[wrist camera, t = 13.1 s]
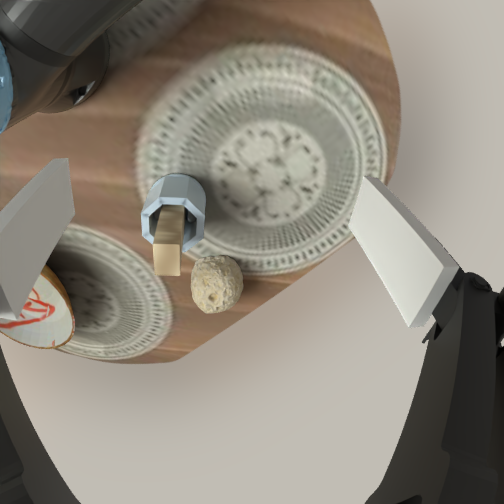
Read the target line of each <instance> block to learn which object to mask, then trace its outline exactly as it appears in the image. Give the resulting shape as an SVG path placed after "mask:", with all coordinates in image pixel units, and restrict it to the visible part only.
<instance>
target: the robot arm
mask: <svg viewBox="0 0 504 504" xmlns="http://www.w3.org/2000/svg"><path fill="white" fill-rule="evenodd" d="M141 1H142V0H0V134H1V133H2V132H3V131H5V130H7V129H8V128H10V127H12V126H13V125H15V124H17V123H18V122H20V121H22V120H24V119H25V118H27V117H29V116H31V115H32V114H34V113H36V112H41V113H58V112H62V111H66V110H68V109H70V108H72V107H74V106H76V105H78V104H80V103H81V102H83V101H84V100H86V99H87V98H88V97H89V96H90V95H91V94H92V93H93V92H94V91H95V90H96V88H97V87H98V86H99V84H100V82H101V81H102V79H103V77H104V75H105V72H106V69H107V66H108V61H109V42H108V37H107V34H106V32H105V30H107V29H108V28H109V27H110V26H111V25H112V24H114V23H115V22H116V21H117V20H118V19H120V18H121V17H122V16H123V15H124V14H126V13H127V12H128V11H129V10H131V9H132V8H133V7H135V6H136V5H137V4H138V3H140V2H141ZM74 215H75V210H74V203H73V196H72V189H71V181H70V172H69V162H68V158H60V159H53V160H51V161H50V162H49V163H48V164H47V165H46V166H45V167H44V168H43V169H42V170H41V171H40V172H39V173H38V174H36V175H35V176H34V177H33V178H32V179H31V180H30V181H29V182H28V183H27V184H26V185H25V186H24V187H23V188H22V189H21V190H20V191H19V192H18V193H17V195H16V196H15V197H14V198H13V199H12V200H11V201H10V202H9V203H8V204H7V205H6V206H5V207H4V208H3V210H2V211H1V212H0V318H4V319H11V320H18V317H19V315H20V313H21V311H22V309H23V307H24V304H25V302H26V300H27V298H28V296H29V294H30V292H31V290H32V288H33V286H34V284H35V282H36V280H37V278H38V277H39V275H40V273H41V271H42V269H43V267H44V265H45V264H46V262H47V260H48V258H49V256H50V255H51V253H52V251H53V249H54V248H55V246H56V244H57V242H58V241H59V239H60V237H61V236H62V234H63V232H64V231H65V229H66V227H67V226H68V224H69V223H70V221H71V219H72V218H73V216H74ZM348 227H349V228H350V230H351V231H352V233H353V235H354V236H355V238H356V239H357V241H358V242H359V244H360V246H361V247H362V249H363V250H364V252H365V254H366V255H367V257H368V258H369V260H370V262H371V263H372V265H373V267H374V268H375V270H376V272H377V273H378V275H379V277H380V278H381V280H382V282H383V283H384V285H385V287H386V289H387V290H388V292H389V294H390V295H391V297H392V299H393V301H394V303H395V304H396V306H397V308H398V309H399V311H400V313H401V315H402V317H403V319H404V321H405V322H406V324H407V326H408V327H409V328H411V327H420V326H424V325H425V324H426V322H427V321H428V319H429V318H430V316H431V314H432V315H433V316H434V318H435V319H436V322H435V323H434V325H433V326H432V328H431V329H430V331H429V332H428V334H427V335H426V336H425V338H424V339H423V341H422V343H425V342H426V340H429V341H428V346H427V350H426V354H425V359H424V363H423V366H422V370H421V374H420V377H419V381H418V384H417V388H416V391H415V395H414V398H413V401H412V404H411V407H410V410H409V414H408V416H407V419H406V422H405V425H404V428H403V431H402V434H401V436H400V439H399V442H398V444H397V447H396V449H395V452H394V454H393V457H392V459H391V462H390V464H389V466H388V469H387V471H386V473H385V476H384V478H383V480H382V482H381V484H380V485H379V487H378V488H377V490H376V491H375V492H374V493H373V494H372V495H371V496H370V497H369V498H368V500H367V501H366V502H365V504H504V346H503V347H502V346H501V341H502V339H503V338H504V288H503V289H502V291H501V292H500V293H497V292H493V291H492V288H491V286H490V285H489V283H488V282H487V281H486V280H485V279H484V278H482V277H481V276H479V275H477V274H475V273H472V272H467V273H464V271H463V270H462V268H461V267H460V266H459V265H458V264H457V262H456V261H455V260H454V259H453V257H452V256H451V255H450V254H448V252H447V250H446V249H445V248H443V246H442V245H441V243H440V242H439V241H438V240H437V239H436V238H435V237H434V236H433V235H432V234H431V233H430V232H429V231H428V230H427V229H426V227H425V226H424V225H423V224H422V223H421V222H420V221H419V220H418V219H417V218H416V216H415V215H414V214H413V213H412V212H411V211H410V210H409V209H408V208H407V207H406V206H405V205H404V204H403V203H402V202H401V201H400V200H399V199H398V198H397V197H396V196H395V195H394V194H393V193H392V192H391V191H390V190H389V189H388V188H387V187H386V186H385V185H384V184H383V183H382V182H381V181H380V180H379V179H378V178H375V177H369V176H364V177H363V180H362V183H361V187H360V190H359V193H358V197H357V200H356V203H355V207H354V210H353V213H352V216H351V219H350V222H349V225H348ZM0 504H81V503H80V502H79V501H78V500H77V499H76V498H75V496H74V495H73V493H72V492H71V491H70V489H69V487H68V486H67V485H66V483H65V481H64V480H63V478H62V477H61V475H60V473H59V472H58V470H57V469H56V467H55V465H54V464H53V462H52V460H51V459H50V457H49V455H48V453H47V452H46V450H45V448H44V446H43V444H42V442H41V440H40V439H39V437H38V435H37V433H36V431H35V429H34V427H33V425H32V423H31V421H30V419H29V417H28V414H27V412H26V410H25V408H24V406H23V403H22V401H21V399H20V397H19V394H18V392H17V389H16V387H15V384H14V382H13V379H12V377H11V374H10V372H9V369H8V366H7V364H6V361H5V358H4V355H3V352H2V349H1V346H0Z"/></svg>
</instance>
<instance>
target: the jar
mask: <svg viewBox="0 0 504 504" xmlns="http://www.w3.org/2000/svg"><path fill="white" fill-rule="evenodd" d="M162 204H171V205H184V206H185V207H186V220H185V229H184V238H183V248H182V252H186V251H187V250H189V249H190V248H191V247H192V246H194V245H195V244H196V243H198V242H199V241H200V240H202V239H203V238H204V221H205V206H206V195H205V191H204V189H203V187H202V186H201V184H200V183H199V182H198V181H197V180H196V179H194V178H193V177H191V176H188V175H185V174H180V173H173V174H168V175H165V176H163V177H161V178H160V179H158V180H157V181H156V182H155V183H154V185H153V186H152V188H151V190H150V191H149V193H148V195H147V198H146V201H145V204H144V207H143V209H142V212H141V221H142V236H143V237H144V238H146V239H147V240H148V241H149V242H150V243H151V244H153V241H154V236H155V232H156V228H157V224H158V220H159V216H160V212H161V208H162Z"/></svg>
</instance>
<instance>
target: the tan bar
mask: <svg viewBox="0 0 504 504" xmlns="http://www.w3.org/2000/svg"><path fill="white" fill-rule="evenodd" d="M185 220H186V207H185V206H184V205H171V204H162V208H161V212H160V216H159V220H158V224H157V228H156V232H155V236H154V241H153V255H154V268H155V275H169V276H180V269H181V258H182V248H183V238H184V229H185Z"/></svg>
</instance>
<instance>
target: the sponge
mask: <svg viewBox="0 0 504 504" xmlns="http://www.w3.org/2000/svg"><path fill="white" fill-rule="evenodd" d="M242 290H243V274H242V272H241V270H240V267H239V265H238V264H237V263H236V261H235V260H233V259H231V258H229V257H228V256H221V255H219V256H214V257H212V256H209V257H205V258H201V259H199V260H197V261H196V262H195V265H194V267H193V269H192V274H191V291H192V297H193V299H194V301H195V303H196V304H197V305H198V307H199V308H200V309H201V310H203V311H204V312H205V313H206V314H207V313H219V312H221V311H225V310H227V309H229V308H231V307H232V306H234V305H235V303H236V302H238V300H239V298H240V295H241V292H242Z"/></svg>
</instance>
